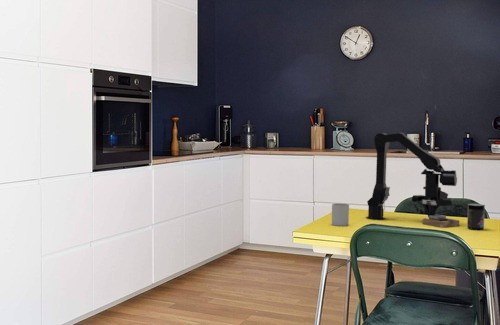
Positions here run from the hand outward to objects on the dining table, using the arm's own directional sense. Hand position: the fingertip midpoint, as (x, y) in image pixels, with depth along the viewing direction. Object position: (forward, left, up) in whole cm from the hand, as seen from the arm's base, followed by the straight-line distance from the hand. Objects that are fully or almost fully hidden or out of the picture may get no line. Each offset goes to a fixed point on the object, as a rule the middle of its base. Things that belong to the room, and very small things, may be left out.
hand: (430, 219), depth 281 cm
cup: (-40, +15, -2) cm, 43 cm away
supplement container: (+5, -20, -2) cm, 21 cm away
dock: (0, -5, -2) cm, 6 cm away
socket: (0, -4, -2) cm, 4 cm away
